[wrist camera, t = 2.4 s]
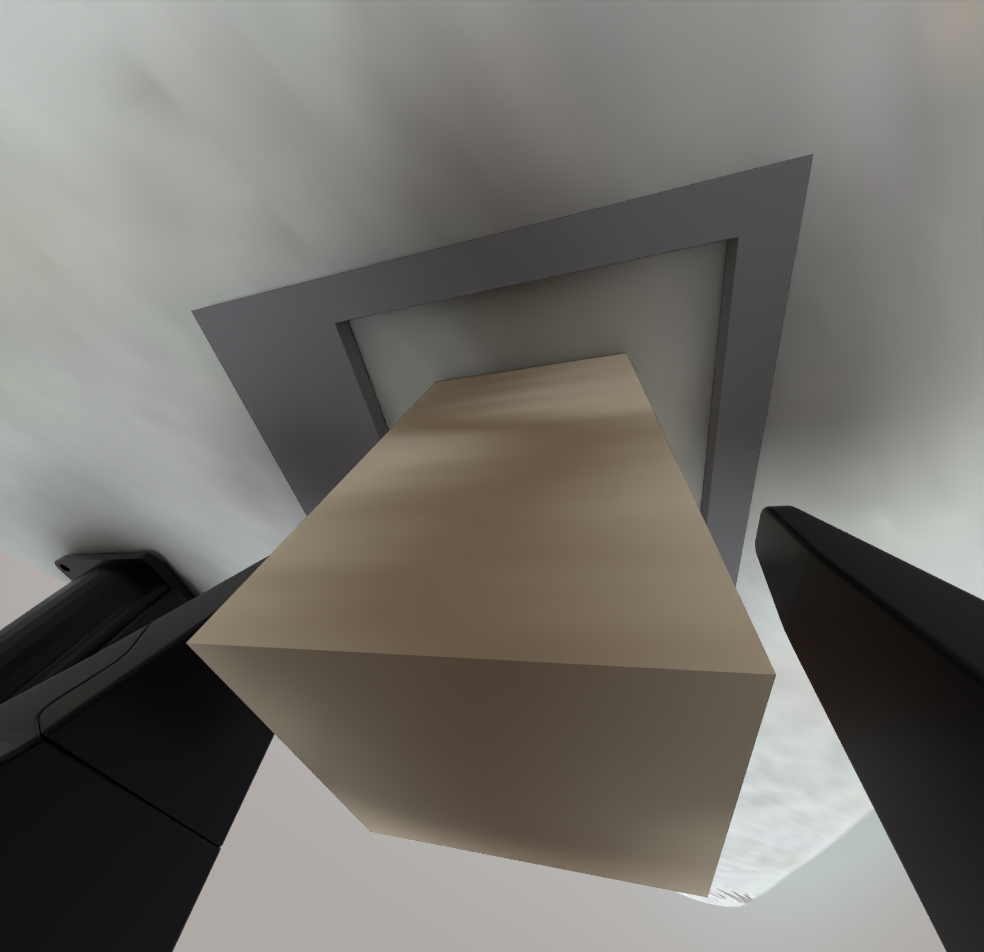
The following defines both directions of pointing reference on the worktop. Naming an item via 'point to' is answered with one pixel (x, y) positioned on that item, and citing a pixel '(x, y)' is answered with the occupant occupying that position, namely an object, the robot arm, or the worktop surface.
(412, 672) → the beige wooden block
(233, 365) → the mat
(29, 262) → the worktop surface
